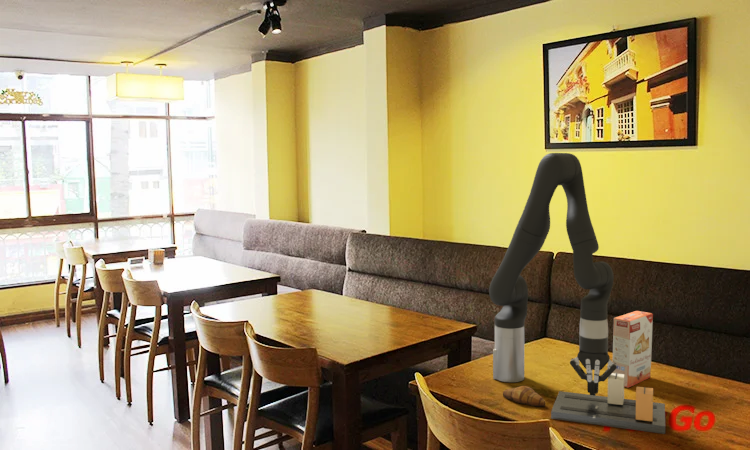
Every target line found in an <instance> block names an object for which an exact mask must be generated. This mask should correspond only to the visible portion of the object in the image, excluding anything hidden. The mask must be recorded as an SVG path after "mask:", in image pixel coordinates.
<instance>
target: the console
mask: <svg viewBox="0 0 750 450" xmlns="http://www.w3.org/2000/svg"><path fill="white" fill-rule="evenodd" d="M665 405H666V404H665V403H661V402H654V401H653V421H644V420H636V399H628V398H624V402H623V405H618V404H610V403H608V396H602V395H590V394H587V393H586V394H585V393H579V392H570V391H569V392H568V391H560V390H559V391H558V394H557V397H556V399H555V401H554V403H553V405H552V409H551V412H550V419H552V420H560V421H566V422H567V421H568V422H573V423H574V422H575V423H582V424H588V425H598V426H603V427H611V428H618V429H625V430H635V431H641V432H648V433H656V434H662V435H664V434H666V408H665V407H666V406H665Z"/></svg>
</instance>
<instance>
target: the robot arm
mask: <svg viewBox="0 0 750 450" xmlns="http://www.w3.org/2000/svg"><path fill="white" fill-rule="evenodd" d="M583 175H584V174H583V169H582V165H581V162H580V159H579V158H578V156H576V155H574V154H573V153H570V152H569V153H567V152H550V153H547V154H545V155H544V156H543V157H542V158H541V160H540V162H539V163H538V165H537V168H536V171H535V175H534V179H533V182H532V186H531V189H530V192H529V195H528V197H527V200H526V203H525V206H524V207H523V208H524V209H523V211H522V213H521V216H520V217H519V220H518V223H517V224H516V227H515V230H514V232H513V236H512V238H511V240H510V243H509V245H508V247H507V250H506V252H505V254H504V256H503V259H502V261H501V263H500V265H499V266H498V268H497V270H496V272H495V274H494V276H493V277H492V280H491V281H490V284H489V287H488V294H489V299H490V300H491V302H492V303H493V304H494V305H496V306H501V307H502V308H501V309H500V311H498V313H497V314H496V315H495V316H494V348H493V349H492V365H493V366H492V367H493V368H492V379H493V380H497V381H500V382H504V383H519V382H523V381H524V380H525V321H526V319H527V315H528V301H529V300H528V299H529V289H528V283H527V282H526V279H525V278H524V277H523V276H522V275H521V273H522V272H523V270H525V268H526V266H527V265H528V264H529V263H530V262H531V261H532V260H533V259H534V258H536V257H535V256H537V255H538V253H539V252H540V251H541V250H542V248H543V245H544V244H545V241H546V239H547V237H548V235H549V232H550V228H551V215H550V204H551V200H552V199H553V196H554V194H555V192H556V189H557V187H558V186H561V187H562V189H563V191H564V194H565V197H566V202H567V211H566V221H565V227H566V232H567V234H566V235H567V236H568V239H569V242H570V247H571V249H572V262H573V264H572V265H573V275H574V279H575V281H576V283H577V284H578V285H579V287H580V288H582V289H583V290H589V292H588V293H587V294H586V295H585V296H584V297H582V298H581V300H580V319H579V333H578V336H579V338H578V339H579V343H578V345H579V349H578V353H577V356H576V357H574V358H571V359H570V361H569V364H570V366H571V367H572V369H574V371H575V373H576V374H577V375H578V376H579V378H580V379H581V380H585V381H586V382H587V389H586V390H587V393H589V395H596V394H598V393H599V383H600V382H605V381H607V380H608V377H609V376H610V375H611V374H612V373H613V372H614V371H615V369H616V368H617V364H616V363H613V360H611V359H610V355H609V350H608V349H609V324H608V303H609V300H610V296H611V292H612V290H613V285H614V277H615V276H614V271H613V269H612V266H611V265H609V263H607V262H605V261H593V260H594V259H593V254H595V253H596V252H598V250H599V248H600V246H599V242H598V239H597V235H596V233H595V228H594V226H593V224H592V220H591V217H590V212H589V208H588V201H587V195H586V188H585V182H584V176H583ZM580 364H581V365H582V366H583V368H584V369H585V370H586V372H585V371H584V370H583V368H582V367H581V366H580ZM606 365H607V369H606V370H605V371H604V372H603V373H602V374H601V375H600V372H601V370H603V369H604V367H606ZM593 374H594V375H593ZM596 396H597V395H596Z"/></svg>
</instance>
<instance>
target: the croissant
mask: <svg viewBox="0 0 750 450" xmlns="http://www.w3.org/2000/svg"><path fill="white" fill-rule="evenodd" d="M502 396H503V397H504V398H505V399H507V400H510V401H512V402H515V403H518V404H520V405H526V406H531V407H538V408H541V407H542V408H544V407H546V400H545V399H544V397H542V396H541V395H540V394H539V393H538V392H536V391H535V390H534V389H533V388H531V387H530V386H527V385H521V386H517V387H513V388H508V389H504V390H503V391H502Z"/></svg>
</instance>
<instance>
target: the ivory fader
mask: <svg viewBox="0 0 750 450" xmlns="http://www.w3.org/2000/svg"><path fill="white" fill-rule="evenodd" d="M607 397H608V403H610V404H618V405H623V402H624V399H625V387H624V374H617V373H612V374H611V375H610V376H609V377H608V378H607Z"/></svg>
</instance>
